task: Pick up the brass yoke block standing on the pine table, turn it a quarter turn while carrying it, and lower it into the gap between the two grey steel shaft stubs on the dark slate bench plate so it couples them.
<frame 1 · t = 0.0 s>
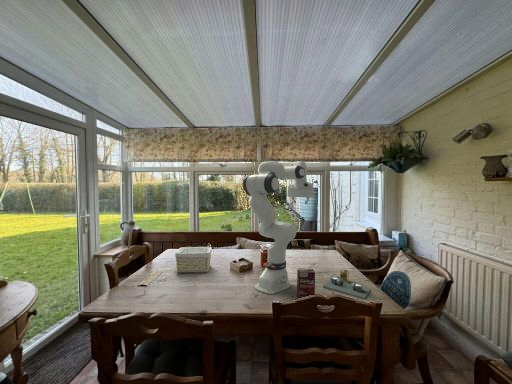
hand: (300, 203, 168), 48 cm above the table, fingers open, 8 cm apart
coupler: (344, 281, 148), on the table
shaft b: (336, 285, 143), resting on bench plate
newspaper: (150, 279, 153), on the table
bench plate: (346, 289, 137), on the table
storage basket: (194, 269, 169), on the table
supplement box: (305, 300, 124), on the table
shaft a: (360, 292, 133), resting on bench plate
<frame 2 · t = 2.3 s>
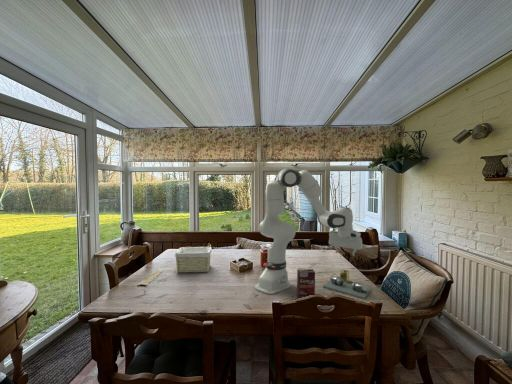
hand: (345, 254, 148), 17 cm above the table, fingers open, 8 cm apart
nothing on the table moved.
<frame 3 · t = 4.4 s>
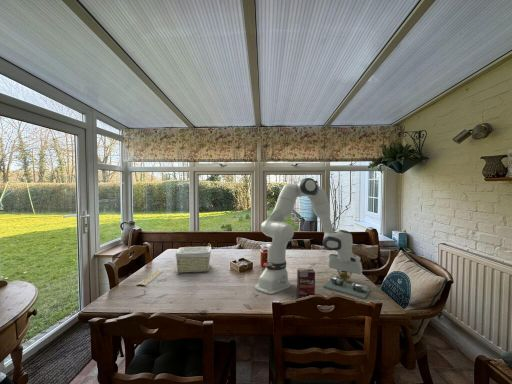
hand: (344, 277, 148), 2 cm above the table, fingers closed on coupler, 4 cm apart
coupler: (344, 281, 148), on the table, touching gripper
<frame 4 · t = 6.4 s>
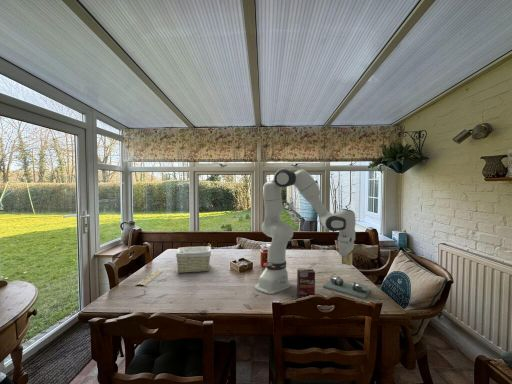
hand: (346, 259, 138), 17 cm above the table, fingers closed on coupler, 4 cm apart
coupler: (346, 263, 138), point 15 cm above the table, touching gripper
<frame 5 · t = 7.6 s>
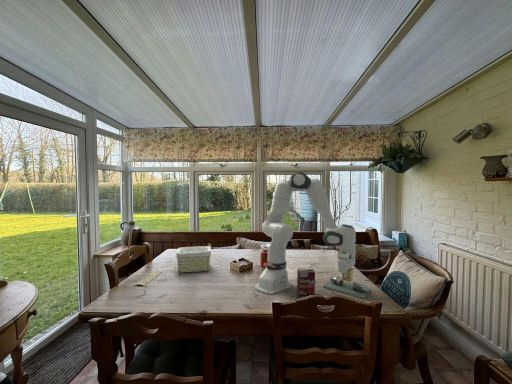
hand: (347, 275, 137), 8 cm above the table, fingers closed on coupler, 4 cm apart
coupler: (347, 279, 137), point 5 cm above the table, touching gripper
when the fingers open (5 cm above the table, at t = 8.5 s): coupler drops 1 cm, resting on bench plate.
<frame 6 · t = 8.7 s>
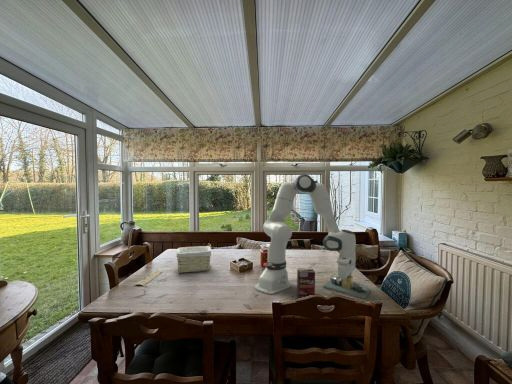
hand: (347, 281, 137), 5 cm above the table, fingers open, 5 cm apart
coupler: (347, 287, 137), point 1 cm above the table, touching bench plate
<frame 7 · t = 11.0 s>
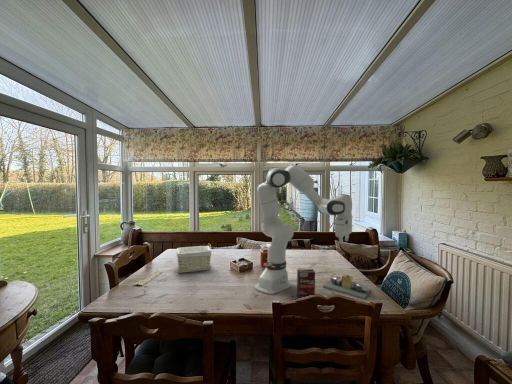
hand: (343, 242, 145), 26 cm above the table, fingers open, 8 cm apart
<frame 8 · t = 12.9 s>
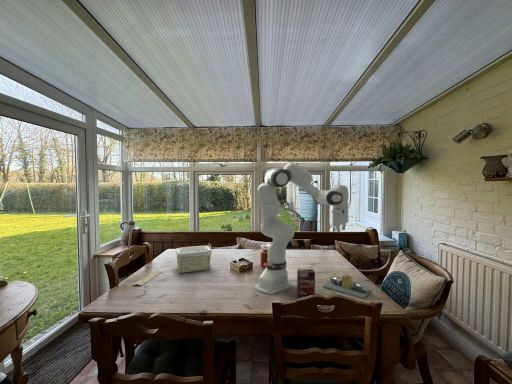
hand: (341, 230, 153), 31 cm above the table, fingers open, 8 cm apart
at the end: coupler 0.0 cm from the target spot, point 1.0 cm above the table; coupler tilted 0°; the gripper is holding nothing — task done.
